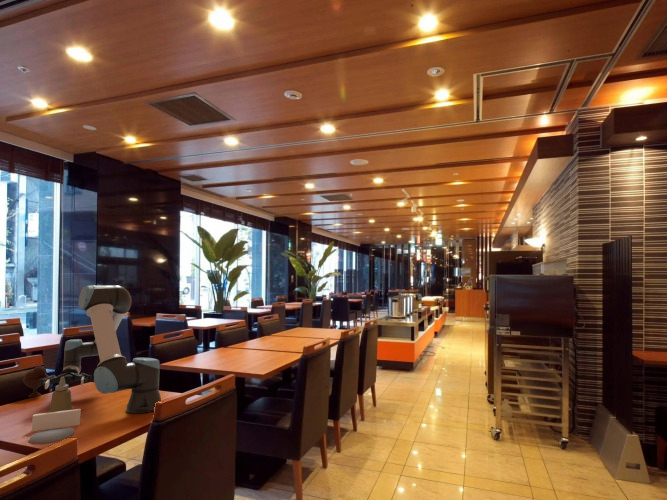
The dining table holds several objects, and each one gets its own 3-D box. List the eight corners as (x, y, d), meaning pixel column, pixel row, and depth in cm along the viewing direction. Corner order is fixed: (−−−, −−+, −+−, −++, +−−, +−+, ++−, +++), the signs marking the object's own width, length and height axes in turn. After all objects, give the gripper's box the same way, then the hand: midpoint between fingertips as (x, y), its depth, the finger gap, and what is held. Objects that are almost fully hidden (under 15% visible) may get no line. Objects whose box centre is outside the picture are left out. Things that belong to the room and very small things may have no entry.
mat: (82, 433, 156) (82, 430, 156) (44, 446, 143) (44, 443, 143) (59, 427, 161) (59, 425, 161) (21, 439, 149) (21, 437, 149)
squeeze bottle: (52, 424, 165) (55, 380, 166) (45, 420, 170) (48, 377, 171) (74, 419, 171) (76, 376, 173) (66, 415, 176) (69, 374, 178)
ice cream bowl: (43, 391, 215) (45, 363, 216) (50, 395, 208) (52, 366, 209) (19, 396, 207) (21, 366, 208) (25, 400, 200) (27, 369, 201)
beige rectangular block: (80, 423, 166) (80, 408, 167) (79, 424, 164) (80, 409, 165) (32, 429, 159) (33, 414, 159) (31, 431, 157) (32, 415, 158)
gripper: (98, 379, 205) (95, 389, 186) (38, 384, 193) (29, 396, 174) (98, 364, 205) (96, 373, 187) (39, 369, 194) (30, 378, 175)
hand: (64, 384), depth 180 cm, fingers open, 13 cm apart
